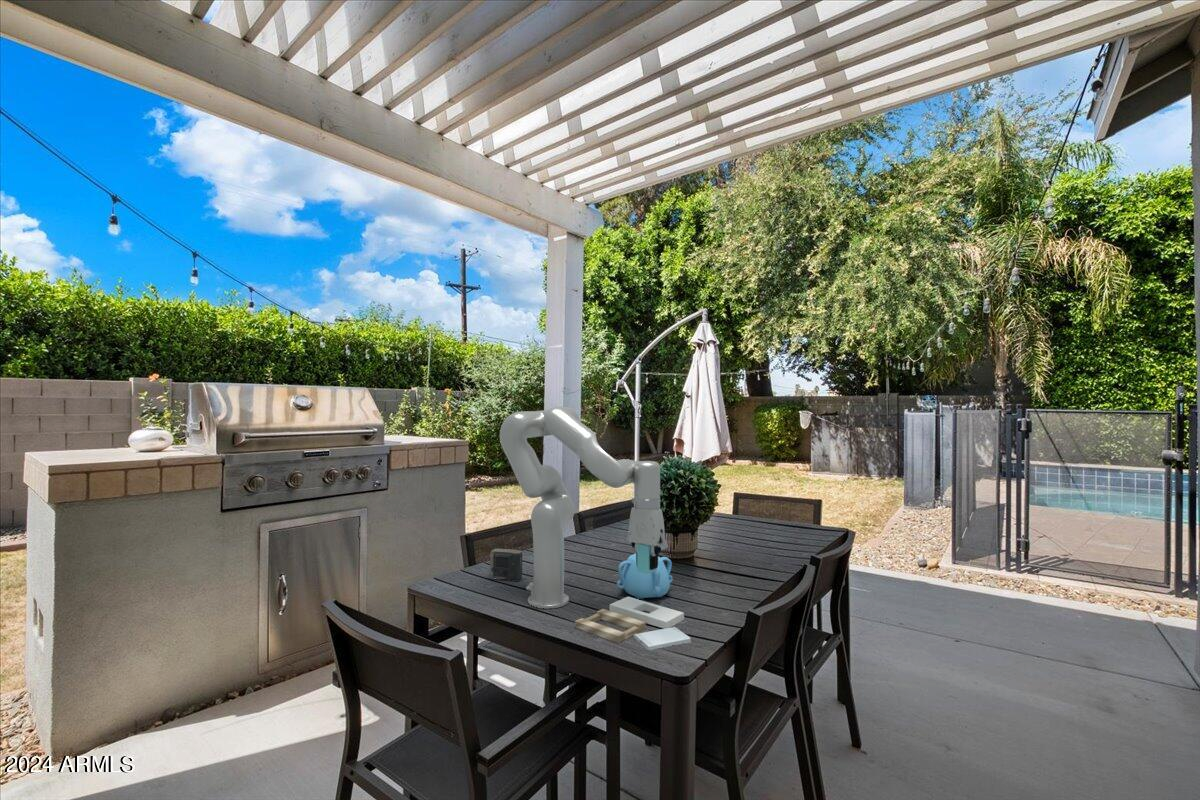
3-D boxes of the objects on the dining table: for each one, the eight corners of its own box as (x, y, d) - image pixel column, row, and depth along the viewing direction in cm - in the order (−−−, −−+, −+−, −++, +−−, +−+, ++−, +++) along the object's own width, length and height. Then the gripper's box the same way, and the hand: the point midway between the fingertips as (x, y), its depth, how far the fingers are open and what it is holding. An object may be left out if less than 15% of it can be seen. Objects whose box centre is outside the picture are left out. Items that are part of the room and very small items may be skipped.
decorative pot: (610, 596, 176) (610, 553, 176) (634, 582, 190) (634, 542, 190) (656, 606, 167) (656, 561, 167) (678, 591, 181) (678, 549, 181)
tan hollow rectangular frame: (575, 627, 151) (575, 621, 151) (603, 615, 160) (603, 608, 160) (618, 643, 141) (618, 636, 141) (645, 628, 150) (645, 622, 150)
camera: (524, 578, 193) (524, 549, 193) (517, 583, 188) (518, 553, 188) (494, 575, 196) (495, 546, 197) (487, 580, 191) (487, 551, 191)
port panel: (609, 611, 163) (609, 604, 163) (627, 603, 170) (627, 596, 170) (666, 629, 150) (666, 622, 150) (684, 619, 157) (684, 612, 157)
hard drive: (674, 626, 150) (633, 633, 145) (691, 638, 142) (648, 645, 137) (674, 632, 150) (633, 639, 145) (691, 644, 142) (648, 652, 137)
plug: (637, 571, 160) (637, 543, 160) (645, 568, 163) (645, 541, 163) (648, 574, 157) (648, 546, 157) (656, 571, 160) (656, 543, 160)
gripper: (616, 502, 163) (616, 564, 162) (664, 509, 152) (664, 576, 152) (631, 499, 168) (631, 559, 168) (678, 505, 158) (678, 569, 157)
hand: (647, 566), depth 160 cm, fingers closed on plug, 3 cm apart
